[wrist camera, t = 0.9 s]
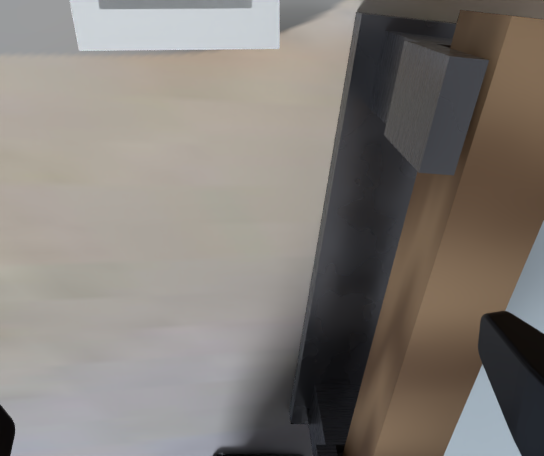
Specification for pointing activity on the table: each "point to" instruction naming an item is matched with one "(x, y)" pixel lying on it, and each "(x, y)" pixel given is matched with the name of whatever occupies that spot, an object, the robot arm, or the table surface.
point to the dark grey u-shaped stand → (375, 200)
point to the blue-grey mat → (482, 401)
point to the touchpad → (176, 24)
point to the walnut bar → (458, 251)
